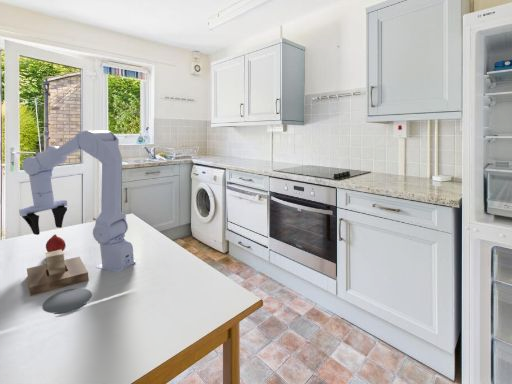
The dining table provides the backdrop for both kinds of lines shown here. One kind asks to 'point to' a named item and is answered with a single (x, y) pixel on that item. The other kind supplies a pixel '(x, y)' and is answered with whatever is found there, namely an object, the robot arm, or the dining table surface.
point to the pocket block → (56, 276)
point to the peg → (55, 262)
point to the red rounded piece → (55, 244)
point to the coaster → (67, 300)
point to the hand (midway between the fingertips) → (48, 230)
